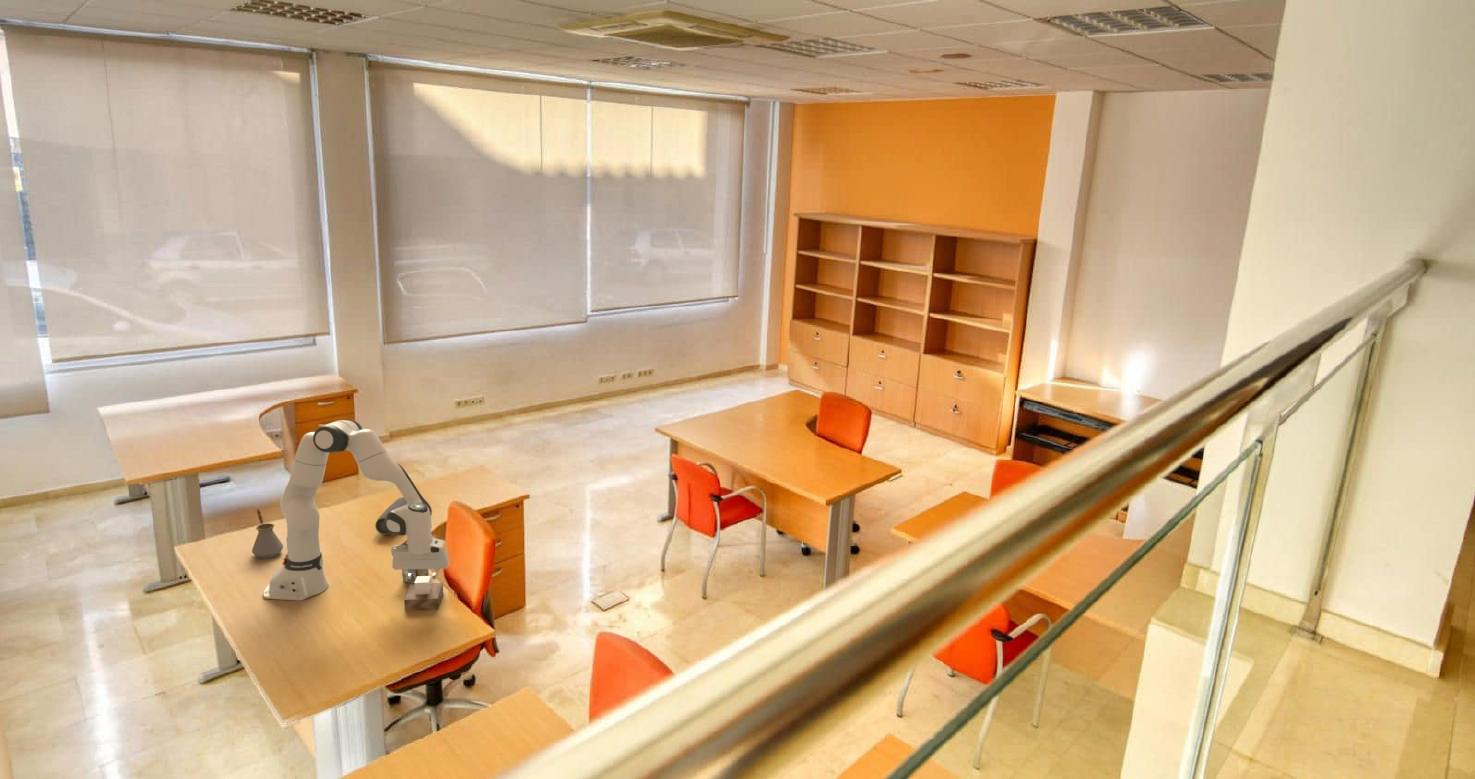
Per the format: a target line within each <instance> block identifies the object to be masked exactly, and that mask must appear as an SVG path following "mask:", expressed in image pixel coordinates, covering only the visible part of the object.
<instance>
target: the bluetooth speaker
mask: <svg viewBox="0 0 1475 779" xmlns="http://www.w3.org/2000/svg"><path fill="white" fill-rule="evenodd" d="M406 504H407V501H406V499H405V498H404V496H403V497H399V498H398V499H396V500H394V502H393V503H391V504H390V505H389V506H388V507H387V508H386V509H385V510H384V511H383V512H382V513H381V514H380V516H379V517H378V518H377V520H376V522H375V526H374V527H375V529H376V532H378V533H379V534H381V535H384V536H386V535H387V536H388V535H391V534H392V533H390V532H389V531H388V530H387V528H386V525H385V517H386V515H387V513H389V512H390V511H392V510H394V509H396V508H399V507H401V506H403V505H406Z"/></svg>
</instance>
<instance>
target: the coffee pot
mask: <svg viewBox="0 0 1475 779" xmlns="http://www.w3.org/2000/svg"><path fill="white" fill-rule="evenodd" d="M261 512H262V510H260V509H259V508H257V509H256V510H255V513H256V515H257V516H258V520H259V522H260V524H259V525H257V526H256V527H255V529H256V530H257V532H258V533H257V535H256V538H255V541H254V543H253V546H252V549H251V553H252V554H253V555H254V556H256V557H257V558H259V559H263V560H267V559H272V558H275V557H277V556H278V555H279V554H280V553H281V551H283V548H284V544H283V543H282V541H281V540H280V539H279V538H278V536H277V535H276V533H275V531H274V530H273V529H274V527H275V524H274V523H267V522H266V523H264V520H263V517H262V513H261Z"/></svg>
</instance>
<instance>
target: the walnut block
mask: <svg viewBox="0 0 1475 779" xmlns="http://www.w3.org/2000/svg"><path fill="white" fill-rule="evenodd" d="M431 587H432V588H431V590H430V593H429V594H419V595H415V584H414V583H411V584H409V588H407V589H408V590H407V592H406V595H405V596H404V600H403V601H404V603H403V604H404V610H405V611H404V612H411V611H412V612H415V611H431V610H432V611H435V610H437V611H438V610H439V609H440V606H441V602H442V599H443V596H444V583H443V582H435V583H434V582H433V583H432V582H431Z"/></svg>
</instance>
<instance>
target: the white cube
mask: <svg viewBox="0 0 1475 779" xmlns="http://www.w3.org/2000/svg"><path fill="white" fill-rule="evenodd" d="M431 583H432V576H431V575H426V576H417V578H416V580H415V583H413V584H415V595H419V594H429V593H430V590H431V588H432V587H431Z"/></svg>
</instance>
